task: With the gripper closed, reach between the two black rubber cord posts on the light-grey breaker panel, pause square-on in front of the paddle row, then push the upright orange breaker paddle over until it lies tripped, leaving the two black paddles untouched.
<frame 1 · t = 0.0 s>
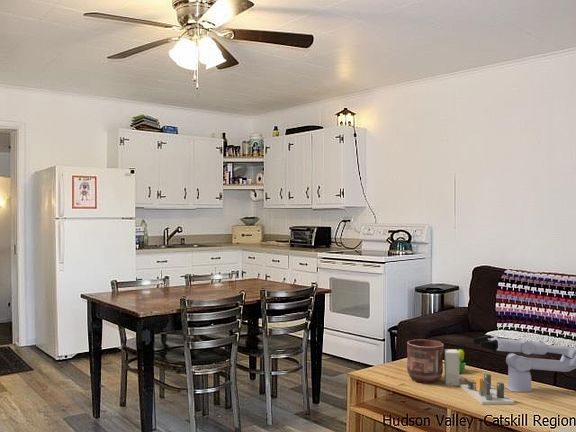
hand: (476, 342, 249), 22 cm above the table, tool horizontal, fingers open, 7 cm apart
skincare box: (451, 383, 258), on the table
paddle 1: (468, 382, 247), point 4 cm above the table, hinge at 55.0°
paddle 2: (486, 389, 233), point 5 cm above the table, hinge at 0.0°
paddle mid: (479, 384, 240), point 5 cm above the table, hinge at 0.0°
breaker panel: (486, 395, 240), on the table
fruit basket: (455, 371, 279), on the table
pottery: (425, 380, 263), on the table
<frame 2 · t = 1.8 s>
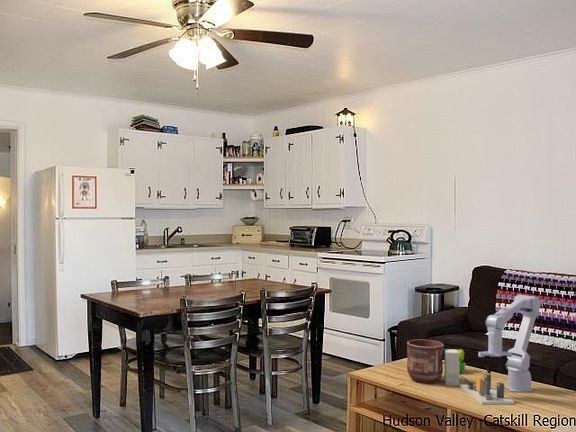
hand: (494, 373, 241), 10 cm above the table, tool pointing down, fingers open, 5 cm apart
nothing on the table moved.
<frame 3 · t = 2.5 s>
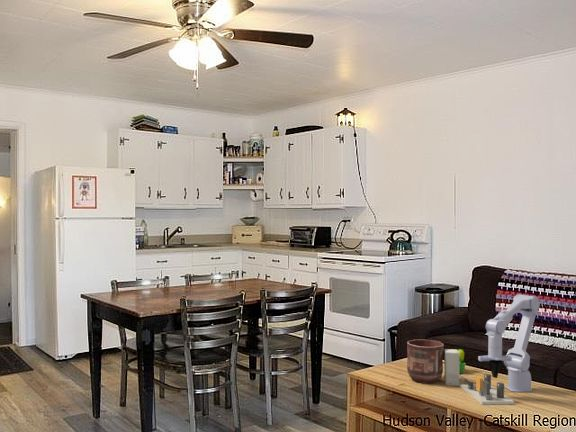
hand: (494, 377, 241), 8 cm above the table, tool pointing down, fingers closed
nothing on the table moved.
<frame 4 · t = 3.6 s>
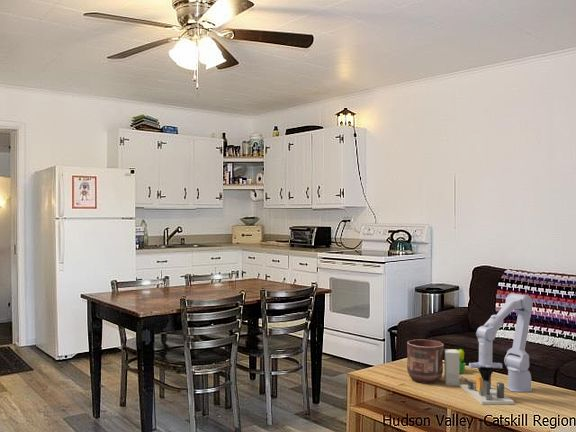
hand: (485, 384, 240), 5 cm above the table, tool pointing down, fingers closed
nothing on the table moved.
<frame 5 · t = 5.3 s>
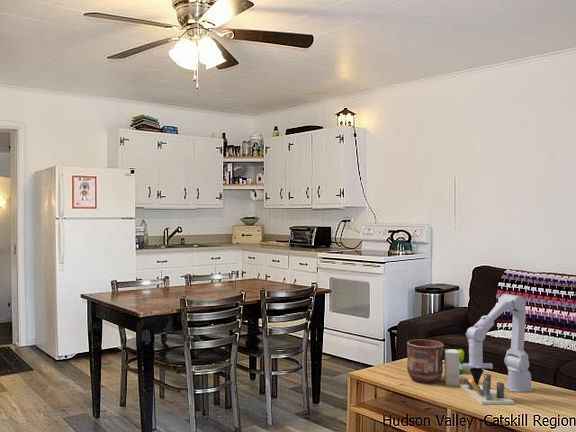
hand: (476, 384, 240), 5 cm above the table, tool pointing down, fingers closed, pressing on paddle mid
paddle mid: (475, 386, 240), point 4 cm above the table, hinge at 42.5°, touching gripper
everything else where it was.
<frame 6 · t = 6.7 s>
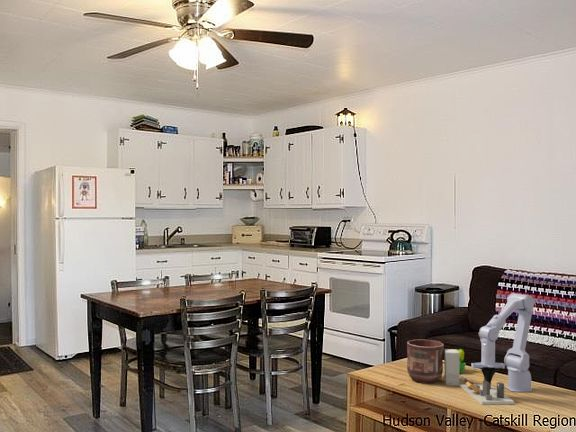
hand: (487, 384, 241), 5 cm above the table, tool pointing down, fingers closed
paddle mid: (474, 387, 240), point 3 cm above the table, hinge at 59.4°
everything else where it was.
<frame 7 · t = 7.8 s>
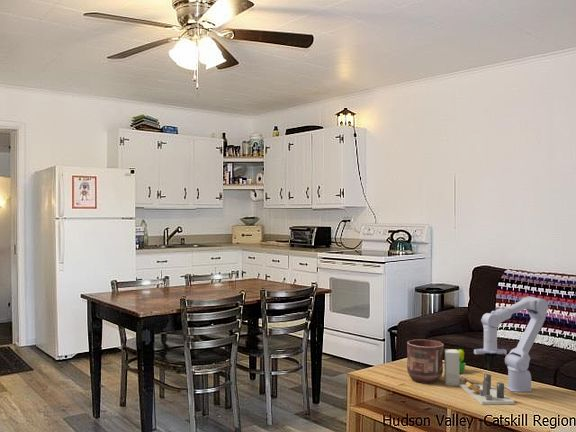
hand: (490, 369, 246), 10 cm above the table, tool pointing down, fingers closed
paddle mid: (474, 387, 240), point 3 cm above the table, hinge at 59.7°
everything else where it was.
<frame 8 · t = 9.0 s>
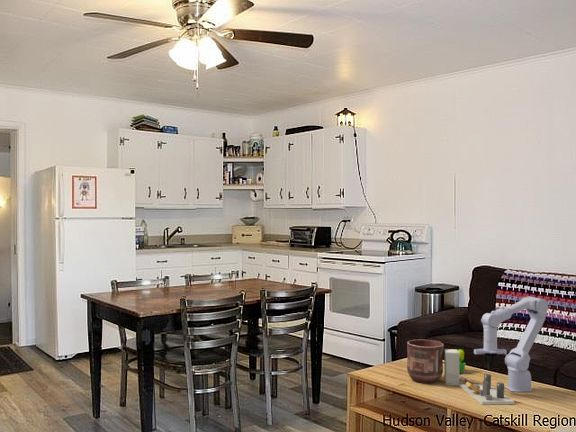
hand: (490, 369, 246), 10 cm above the table, tool pointing down, fingers closed
nothing on the table moved.
at the end: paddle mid at +60° (first picture: +0°); paddle 2 at +0° (first picture: +0°) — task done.
